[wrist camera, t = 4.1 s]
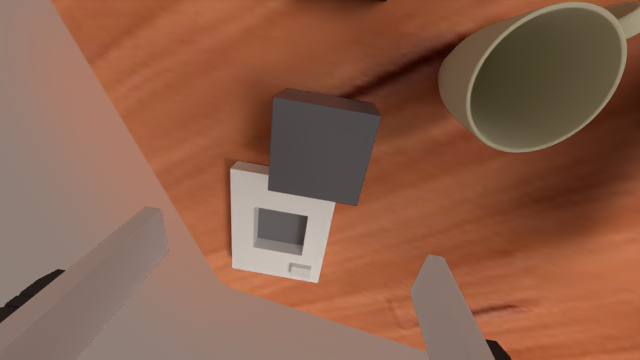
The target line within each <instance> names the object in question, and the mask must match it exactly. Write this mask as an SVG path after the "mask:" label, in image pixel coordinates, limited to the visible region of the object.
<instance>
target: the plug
mask: <svg viewBox="0 0 640 360" xmlns="http://www.w3.org/2000/svg"><path fill="white" fill-rule="evenodd" d="M380 120H381V115H380V113H379V111H378V110H377V108H376V106H375V105H374V103H369V102H364V101H358V100H352V99H347V98H341V97H335V96H329V95H324V94H318V93H312V92H307V91H301V90H295V89H290V88H286V89H285V90H284V91H282V92H281V93H279V94H278V95H276V96H275V97H273V111H272V128H271V144H270V160H269V176H268V191H274V192H279V193H285V194H291V195H296V196H302V197H308V198H313V199H319V200H325V201H331V202H336V203H342V204H348V205H353V206H357V204H358V200H359V196H360V193H361V189H362V185H363V182H364V178H365V175H366V171H367V167H368V164H369V160H370V156H371V153H372V149H373V145H374V142H375V138H376V134H377V131H378V127H379V123H380Z"/></svg>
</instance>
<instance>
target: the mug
mask: <svg viewBox="0 0 640 360" xmlns="http://www.w3.org/2000/svg"><path fill="white" fill-rule="evenodd" d="M638 33H640V1H633V2H625V3H620V4H616V5H612V6H608V7H605V8H602V7H600V6H597V5H594V4H591V3H586V2H564V3H558V4H554V5H550V6H546V7H543V8H540V9H537V10H534V11H531V12H528V13H524V14H521V15H518V16H515V17H512V18H509V19H506V20H502V21H500V22H497V23H494V24H491V25H489V26H487V27H485V28H482V29H480V30H478V31H477V32H475V33H473V34H472V35H470V36H469V37H467V38H466V39H465V40H463V41H462V42H461V43H460V44H459V45H457V46H456V47H455V48H454V50H453V51H452V52H451V53H450V54H449V55H448V56H447V57H446V58H445V59H444V61H443V62H442V64H441V66H440V68H439V72H438V85H439V92H440V96H441V99H442V101H443V103H444V105H445V107H446V108H447V110H448V111H449V113H450V114H451V115H452V116H453V117H454V118H455V119H456V120H457V121H458V122H460V123H461V124H462V125H463V126H464V127H465V128H467V129H468V130H469V131H470V132H471V133H472V134H474V135H475V136H476V137H477V138H478V139H480V140H481V141H482V142H483V143H485V144H486V145H488V146H490V147H492V148H495V149H497V150H501V151H505V152H514V153H519V152H530V151H536V150H539V149H543V148H546V147H549V146H552V145H554V144H556V143H559V142H561V141H563V140H565V139H566V138H568V137H570V136H571V135H573V134H575V133H576V132H577V131H579V130H580V129H582V128H583V127H584V126H585V125H586V124H588V123H589V122H590V121H591V120H592V119H593V118H594V117H595V116H596V115H597V114H598V113H599V112H600V111H601V110H602V109H603V107H604V106H605V105H606V104H607V102H608V101H609V100H610V98H611V97H612V95H613V93H614V92H615V90H616V88H617V86H618V84H619V82H620V80H621V78H622V74H623V71H624V68H625V64H626V58H627V43H626V39H629V38H631V37H632V36H634V35H636V34H638Z"/></svg>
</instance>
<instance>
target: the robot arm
mask: <svg viewBox="0 0 640 360" xmlns="http://www.w3.org/2000/svg"><path fill="white" fill-rule="evenodd" d="M168 251H169V249H168V243H167V238H166V232H165V227H164V221H163V217H162V211H161V209H156V208H151V207H144V208H143V209H142V210H141V211H140V212H138V213H137V214H136V215H134V216H133V217H132V218H131V219H129V220H128V221H127V222H126V223H125V224H123V225H122V226H121V227H119V228H118V229H117V230H116V231H114V232H113V233H112V234H111V235H109V236H108V237H107V238H106V239H105V240H103V241H102V242H101V243H100V244H98V245H97V246H96V247H95V248H93V249H92V250H91V251H90V252H88V253H87V254H86V255H85V256H83V257H82V258H81V259H80V260H78V261H77V262H76V263H75V264H73V265H72V266H71V267H70V268H68V269H67V270H60V269H57V270H55V271H54V272H52V273H50V274H48V275H46V276H44V277H42V278H40V279H38V280H36V281H35V282H34V283H33V284H31V285H30V286H29V287H27V288H26V289H25V290H23V291H22V292H21V293H20V295H19V296H16V297H14V298H13V299H12V300H10V301H9V302H7V303H6V304H5V306H4V307H1V308H0V360H77V358H78V357H79V356H80V355H81V354H82V353H83V352H84V350H85V349H86V348H87V347H88V345H89V344H90V343H91V342H92V341H93V340H94V339H95V337H96V336H97V335H98V334H99V333H100V331H101V330H102V329H103V328H104V327H105V326H106V325H107V323H108V322H109V321H110V320H111V319H112V317H113V316H114V315H115V314H116V313H117V312H118V310H119V309H120V308H121V307H122V306H123V305H124V303H125V302H126V301H127V300H128V299H129V297H130V296H131V295H132V294H133V293H134V292H135V290H136V289H137V288H138V287H139V286H140V284H141V283H142V282H143V281H144V280H145V278H147V276H148V275H149V274H150V273H151V272H152V270H153V269H154V268H155V267H156V266H157V265H158V263H159V262H160V261H161V260H162V259H163V258H164V256H165V255H166V254H167V253H168ZM410 294H411V297H412V301H413V304H414V308H415V311H416V315H417V318H418V321H419V325H420V328H421V332H422V335H423V339H424V342H425V346H426V349H427V353H428V356H429V359H430V360H511V358H510V357H509V355H508V354H507V353H506V352H505V351H504V350H503V348H502V347H501V346H500V345H499V344H498V343H497V341H492V340H486V339H484V337H483V335H482V333H481V331H480V329H479V327H478V325H477V323H476V321H475V319H474V317H473V315H472V313H471V311H470V309H469V307H468V305H467V303H466V301H465V299H464V297H463V295H462V293H461V291H460V289H459V287H458V285H457V283H456V281H455V279H454V277H453V275H452V273H451V271H450V269H449V267H448V265H447V263H446V261H445V259H444V257H441V256H436V255H430V254H428V256H427V258H426V260H425V262H424V264H423V266H422V268H421V270H420V272H419V274H418V276H417V278H416V280H415V282H414V284H413V286H412V288H411V290H410Z"/></svg>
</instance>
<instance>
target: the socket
mask: <svg viewBox="0 0 640 360" xmlns="http://www.w3.org/2000/svg"><path fill="white" fill-rule="evenodd" d="M268 176H269V166H264V165H259V164H253V163H247V162H242V161H237V162H236V163H235V164H234V165H233V166H232V167H231V168H230V181H231V229H232V268H236V269H241V270H247V271H253V272H258V273H264V274H270V275H276V276H281V277H287V278H293V279H298V280H304V281H310V282H315V283H318V280H319V275H320V271H321V266H322V262H323V257H324V253H325V248H326V244H327V239H328V234H329V230H330V225H331V221H332V216H333V212H334V207H335V203H336V202H331V201H325V200H319V199H313V198H308V197H302V196H296V195H291V194H285V193H279V192H274V191H268Z"/></svg>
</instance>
